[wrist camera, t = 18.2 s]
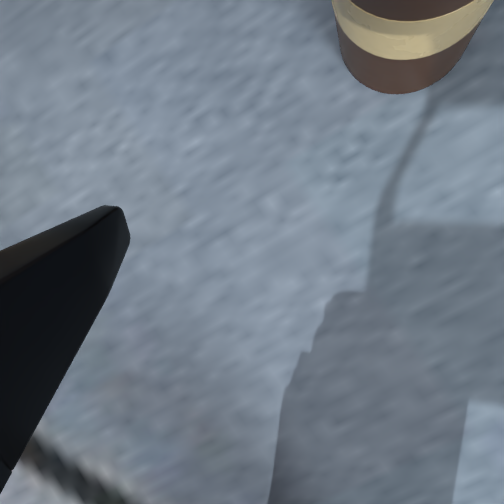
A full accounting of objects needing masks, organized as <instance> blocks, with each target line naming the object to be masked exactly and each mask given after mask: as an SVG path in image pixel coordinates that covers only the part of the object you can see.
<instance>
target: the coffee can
mask: <svg viewBox="0 0 504 504" xmlns="http://www.w3.org/2000/svg"><path fill="white" fill-rule="evenodd" d="M493 1H494V0H332V6H333V9H334V13H335V19H336V26H337V32H338V38H339V44H340V50H341V54H342V57H343V60H344V62H345V64H346V66H347V68H348V69H349V71H350V72H351V74H352V75H353V76H354V77H355V78H356V79H357V80H358V81H359V82H360V83H362V84H363V85H365V86H366V87H368V88H371V89H373V90H375V91H378V92H382V93H388V94H406V93H411V92H415V91H418V90H421V89H424V88H426V87H428V86H430V85H432V84H434V83H435V82H437V81H438V80H440V79H441V78H442V77H444V76H445V75H446V74H447V73H448V72H449V71H450V70H451V69H452V68H453V67H454V66H455V64H456V63H457V62H458V61H459V59H460V58H461V56H462V54H463V53H464V51H465V49H466V47H467V45H468V44H469V42H470V40H471V38H472V36H473V35H474V33H475V31H476V29H477V28H478V26H479V24H480V22H481V20H482V19H483V17H484V15H485V14H486V12H487V11H488V9H489V7H490V6H491V4H492V2H493Z"/></svg>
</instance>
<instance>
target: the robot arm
mask: <svg viewBox="0 0 504 504" xmlns="http://www.w3.org/2000/svg"><path fill="white" fill-rule="evenodd" d="M129 243H130V233H129V229H128V226H127V223H126V219H125V216H124V213H123V210H122V209H121V208H120V207H118V206H107V205H104V206H101V207H98V208H96V209H94V210H92V211H89V212H87V213H85V214H82V215H80V216H78V217H76V218H73V219H71V220H69V221H67V222H64V223H62V224H60V225H58V226H55V227H53V228H51V229H49V230H46V231H44V232H42V233H40V234H37V235H35V236H33V237H30V238H28V239H26V240H24V241H21V242H19V243H17V244H15V245H12V246H10V247H8V248H6V249H3V250H1V251H0V493H1V492H2V490H3V488H4V486H5V484H6V482H7V481H8V479H9V477H10V475H11V473H12V471H11V470H13V469H14V467H15V465H16V464H17V462H18V460H19V458H20V456H21V454H22V453H23V451H24V449H25V447H26V445H27V443H28V442H29V440H30V438H31V436H32V434H33V433H34V431H35V429H36V427H37V425H38V423H39V422H40V420H41V418H42V416H43V414H44V412H45V411H46V409H47V407H48V405H49V403H50V401H51V400H52V398H53V396H54V394H55V392H56V390H57V389H58V387H59V385H60V383H61V381H62V379H63V378H64V376H65V374H66V372H67V370H68V368H69V367H70V365H71V363H72V361H73V359H74V357H75V356H76V354H77V352H78V350H79V348H80V346H81V345H82V343H83V341H84V339H85V337H86V335H87V334H88V332H89V330H90V328H91V326H92V324H93V323H94V321H95V319H96V317H97V315H98V313H99V312H100V310H101V308H102V306H103V304H104V302H105V300H106V298H107V297H108V294H109V292H110V290H111V288H112V286H113V283H114V281H115V278H116V276H117V273H118V271H119V268H120V266H121V263H122V261H123V259H124V256H125V254H126V251H127V249H128V246H129Z"/></svg>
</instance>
